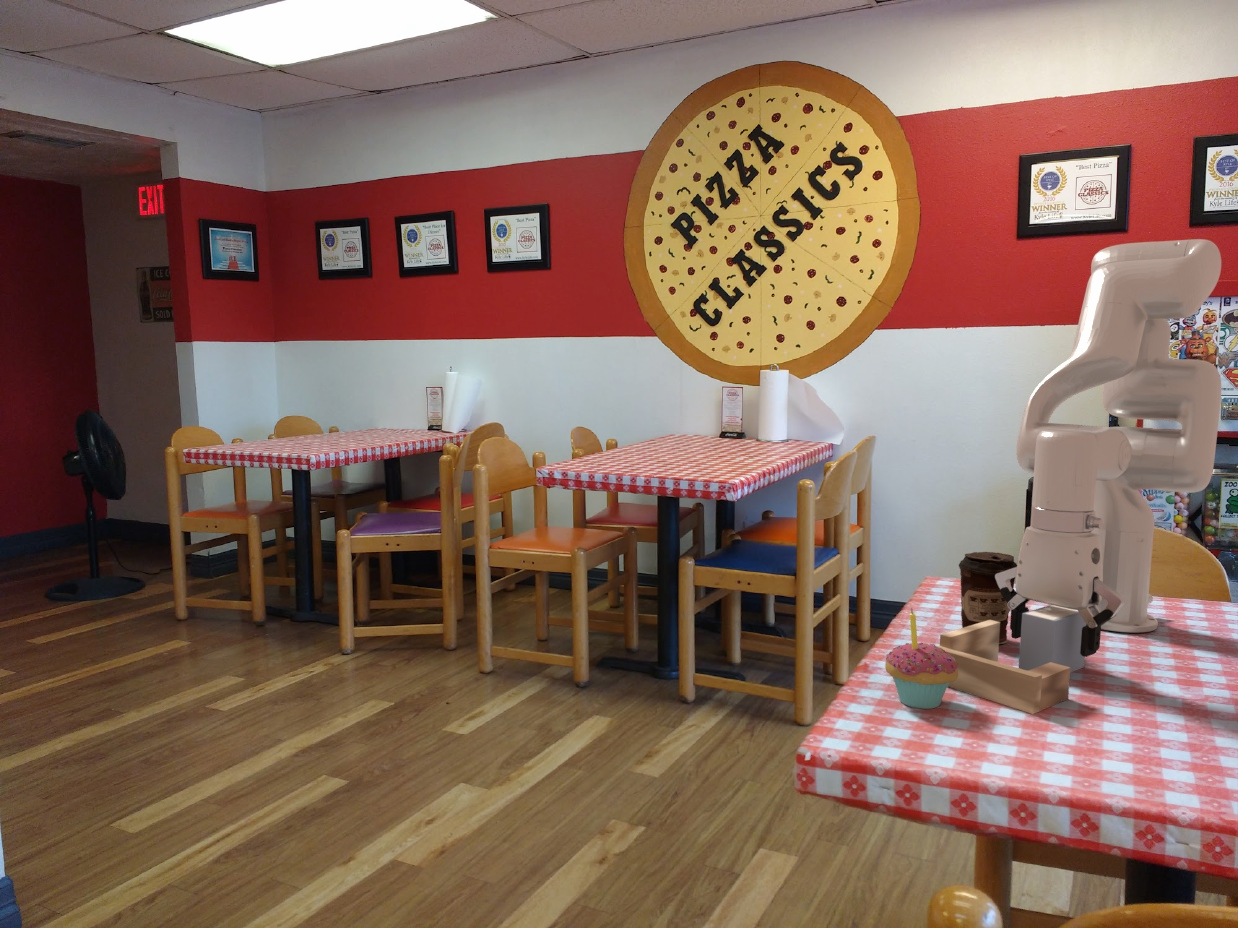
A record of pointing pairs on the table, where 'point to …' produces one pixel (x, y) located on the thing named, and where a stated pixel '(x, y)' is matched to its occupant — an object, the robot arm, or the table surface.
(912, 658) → the cupcake
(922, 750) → the table surface
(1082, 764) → the table surface
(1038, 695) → the rack
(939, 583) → the table surface
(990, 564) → the coffee cup
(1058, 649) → the grey rectangular block
